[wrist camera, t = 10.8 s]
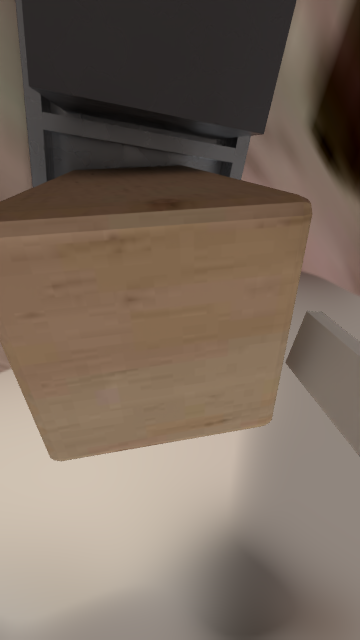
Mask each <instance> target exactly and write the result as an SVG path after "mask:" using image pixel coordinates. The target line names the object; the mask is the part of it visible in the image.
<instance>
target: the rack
mask: <svg viewBox="0 0 360 640" xmlns="http://www.w3.org/2000/svg"><path fill="white" fill-rule="evenodd" d="M295 4H296V0H16V11H17V22H18V33H19V43H20V54H21V65H22V76H23V87H24V98H25V108H26V119H27V130H28V141H29V152H30V162H31V173H32V184H33V187H36V186H38V185H40V184H43V183H45V182H47V181H50V180H52V179H54V178H57V177H59V176H61V175H64V174H66V173H68V172H70V171H73V170H86V169H109V168H131V167H154V166H176V165H183V166H187V167H191V168H195V169H199V170H203V171H207V172H211V173H215V174H219V175H223V176H226V177H230V178H234V179H238V180H241V177H242V173H243V168H244V164H245V159H246V155H247V151H248V146H249V142H250V137H251V136H253V135H262V134H264V131H265V127H266V122H267V118H268V114H269V110H270V106H271V102H272V98H273V94H274V90H275V86H276V82H277V78H278V73H279V69H280V65H281V61H282V57H283V53H284V49H285V45H286V41H287V37H288V33H289V29H290V24H291V20H292V16H293V12H294V8H295Z"/></svg>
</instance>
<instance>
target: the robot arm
mask: <svg viewBox="0 0 360 640" xmlns="http://www.w3.org/2000/svg"><path fill="white" fill-rule="evenodd" d="M286 364H287V365H288V366H289V368H290V369H291V370H292V372H293V373H294V374H295V375H296V377H297V378H298V379H299V380H300V382H301V383H302V384H303V385H304V387H305V388H306V389H307V391H308V392H309V393H310V394H311V396H312V397H313V398H314V399H315V401H316V402H317V403H318V404H319V406H320V407H321V408H322V409H323V411H324V412H325V413H326V415H327V416H328V417H329V418H330V420H331V421H332V422H333V423H334V425H335V426H336V427H337V429H338V430H339V431H340V432H341V434H342V435H343V436H344V437H345V439H346V440H347V441H348V442H349V444H350V445H351V446H352V447H353V449H354V450H355V451H356V453H357V454H358V455H359V456H360V342H359V341H358V340H357V339H356V338H354V337H353V336H352V335H351V334H349V333H348V332H347V331H346V330H344V329H343V328H342V327H340V326H339V325H338V324H336V323H335V322H334V321H333V320H331V319H330V318H329V317H328V316H327V315H325V314H324V313H323V312H313V311H311V312H310V311H307V312H306V315H305V317H304V319H303V322H302V324H301V327H300V329H299V331H298V334H297V336H296V338H295V341H294V343H293V346H292V348H291V350H290V353H289V355H288V358H287V360H286Z"/></svg>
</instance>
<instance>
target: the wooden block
mask: <svg viewBox="0 0 360 640" xmlns="http://www.w3.org/2000/svg"><path fill="white" fill-rule="evenodd" d="M311 218H312V208H311V203H310V201H309V200H308V199H306V198H304V197H302V196H300V195H297V194H293V193H289V192H285V191H281V190H277V189H273V188H270V187H266V186H262V185H258V184H254V183H250V182H246V181H242V180H238V179H234V178H230V177H226V176H223V175H219V174H215V173H211V172H207V171H203V170H199V169H195V168H191V167H187V166H183V165H176V166H154V167H131V168H109V169H86V170H73V171H70V172H68V173H66V174H64V175H61V176H59V177H57V178H54V179H52V180H50V181H47V182H45V183H43V184H40V185H38V186H36V187H33V188H31V189H29V190H26V191H24V192H22V193H20V194H17V195H15V196H13V197H10V198H8V199H6V200H3V201H1V202H0V342H1V344H2V347H3V349H4V351H5V354H6V356H7V358H8V361H9V363H10V365H11V368H12V370H13V372H14V374H15V377H16V379H17V381H18V384H19V386H20V388H21V390H22V393H23V395H24V397H25V400H26V402H27V404H28V407H29V409H30V411H31V414H32V416H33V418H34V421H35V423H36V425H37V428H38V430H39V432H40V434H41V437H42V439H43V442H44V444H45V446H46V448H47V451H48V453H49V455H50V458H52V459H53V460H57V461H65V460H71V459H77V458H82V457H88V456H94V455H100V454H105V453H111V452H117V451H122V450H128V449H134V448H140V447H146V446H151V445H157V444H163V443H168V442H174V441H180V440H186V439H192V438H197V437H203V436H209V435H214V434H220V433H226V432H232V431H237V430H243V429H249V428H255V427H260V426H264V425H266V424H268V423H269V422H270V421H271V420H272V415H273V410H274V405H275V400H276V395H277V390H278V385H279V380H280V374H281V370H282V365H283V360H284V355H285V350H286V344H287V339H288V334H289V329H290V324H291V319H292V314H293V308H294V304H295V299H296V294H297V289H298V283H299V278H300V274H301V268H302V263H303V258H304V253H305V248H306V243H307V238H308V233H309V228H310V223H311Z"/></svg>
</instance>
